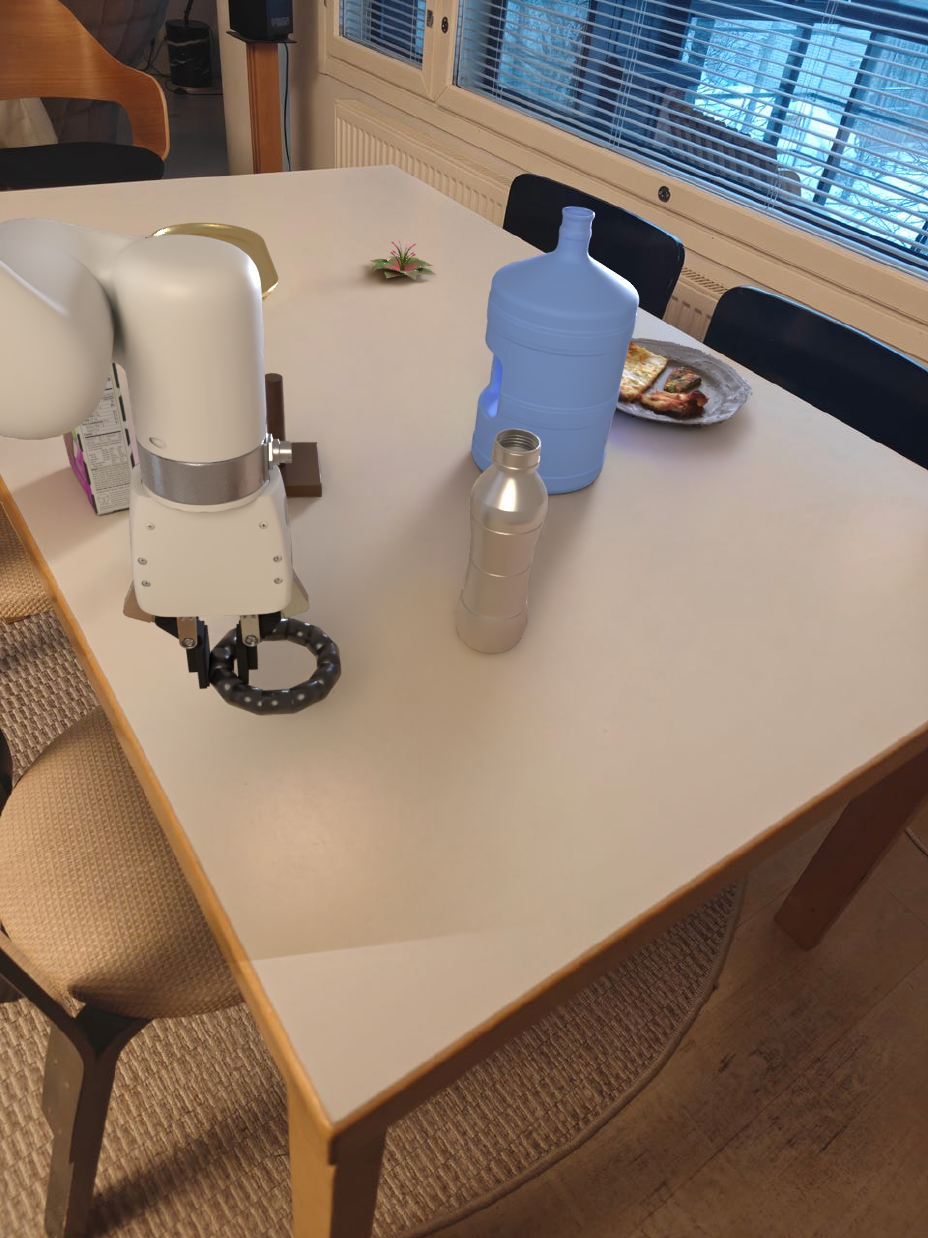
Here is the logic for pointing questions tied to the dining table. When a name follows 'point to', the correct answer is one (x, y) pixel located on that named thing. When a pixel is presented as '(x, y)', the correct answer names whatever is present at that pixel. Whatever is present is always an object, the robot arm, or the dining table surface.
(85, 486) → the candy bar box
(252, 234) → the serving platter
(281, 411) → the post
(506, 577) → the plastic bottle
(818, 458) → the dining table surface
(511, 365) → the water jug
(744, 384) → the food plate
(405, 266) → the lily flower
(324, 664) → the ring
